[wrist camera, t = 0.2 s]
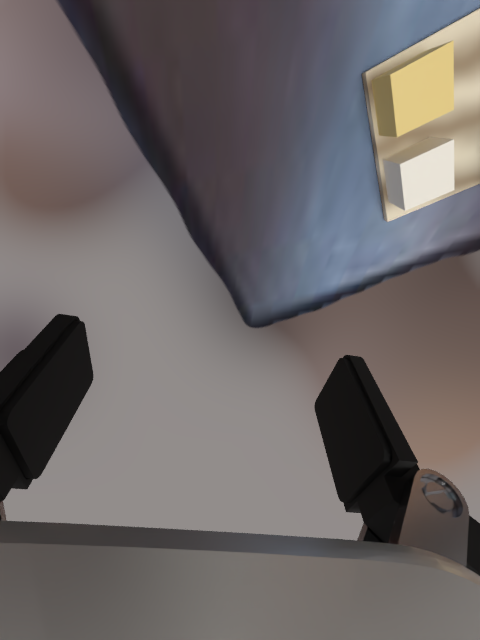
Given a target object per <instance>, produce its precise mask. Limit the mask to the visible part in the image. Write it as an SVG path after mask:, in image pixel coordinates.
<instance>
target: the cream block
mask: <svg viewBox="0 0 480 640" xmlns="http://www.w3.org/2000/svg"><path fill="white" fill-rule="evenodd" d="M382 160H383V167H384V174H385V181H386V189H387V196H388V202H390V203H391V204H393V205H395V206H397V207H399V208H401V209H402V210H404V211H406V210H408V209H411V208H413V207H415V206H418V205H420V204H423V203H425V202H427V201H430V200H432V199H434V198H437V197H439V196H442V195H444V194H446V193H449V192H451V191H453V190H454V139H446V138H435V137H429V138H427V139H425V140H422V141H420V142H418V143H416V144H414V145H412V146H410V147H408V148H406V149H403V150H401V151H399V152H397V153H395V154H393V155H391V156H389V157H387V158H384V159H382Z"/></svg>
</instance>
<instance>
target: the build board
mask: <svg viewBox="0 0 480 640" xmlns="http://www.w3.org/2000/svg"><path fill="white" fill-rule="evenodd" d="M453 40H454V110H452V111H450V112H448V113H446V114H444V115H442V116H440V117H438V118H436V119H434V120H432V121H430V122H428V123H426V124H424V125H422V126H420V127H418V128H415V129H413V130H411V131H409V132H407V133H405V134H403V135H401V136H399V137H389V136H380V135H379V132H378V124H377V117H376V110H375V103H374V96H373V89H372V82H371V80H373V79H375V78H376V77H378V76H380V75H382V74H384V73H385V72H387V71H389V70H391V69H393V68H395V67H396V66H398V65H400V64H402V63H404V62H406V61H407V60H409V59H411V58H413V57H415V56H417V55H418V54H420V53H422V52H424V51H426V50H429V49H431V48H434V47H437V46H439V45H442V44H445V43H448V42H450V41H453ZM362 79H363V85H364V92H365V98H366V105H367V111H368V117H369V124H370V130H371V137H372V143H373V150H374V156H375V163H376V169H377V176H378V182H379V189H380V195H381V202H382V208H383V215H384V220H385V221H387V222H389V221H391V220H394V219H396V218H398V217H401V216H403V215H406V214H408V213H410V212H413V211H415V210H417V209H420V208H422V207H425V206H427V205H429V204H432V203H434V202H437V201H439V200H441V199H444V198H446V197H449V196H451V195H453V194H456V193H458V192H461V191H463V190H465V189H468V188H470V187H472V186H475V185H477V184H480V8H479V9H477V10H475V11H474V12H472V13H470V14H468V15H466V16H465V17H463V18H461V19H459V20H457V21H456V22H454V23H452V24H450V25H448V26H447V27H445V28H443V29H441V30H439V31H438V32H436V33H434V34H432V35H430V36H429V37H427V38H425V39H423V40H422V41H420V42H418V43H416V44H414V45H413V46H411V47H409V48H407V49H405V50H404V51H402V52H400V53H398V54H396V55H395V56H393V57H391V58H389V59H387V60H386V61H384V62H382V63H380V64H378V65H377V66H375V67H373V68H371V69H369V70H368V71H366V72H364V73H362ZM429 137H435V138H446V139H454V190H453V191H451V192H449V193H446V194H444V195H442V196H439V197H437V198H434V199H432V200H430V201H427V202H425V203H423V204H420V205H418V206H415V207H413V208H411V209H408V210H406V211H404V210H402V209H401V208H399V207H397V206H395V205H393V204H391V203H390V202H388V196H387V189H386V181H385V174H384V167H383V160H382V159H384V158H387V157H389V156H391V155H393V154H395V153H397V152H399V151H401V150H403V149H406V148H408V147H410V146H412V145H414V144H416V143H418V142H420V141H422V140H425V139H427V138H429Z"/></svg>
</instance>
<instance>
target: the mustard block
mask: <svg viewBox="0 0 480 640" xmlns="http://www.w3.org/2000/svg"><path fill="white" fill-rule="evenodd" d="M371 82H372V89H373V96H374V103H375V110H376V117H377V124H378V132H379V135H380V136H389V137H399V136H401V135H403V134H405V133H407V132H409V131H411V130H413V129H415V128H418V127H420V126H422V125H424V124H426V123H428V122H430V121H432V120H434V119H436V118H438V117H440V116H442V115H444V114H446V113H448V112H450V111H452V110H454V40H453V41H450V42H448V43H445V44H442V45H439V46H437V47H434V48H431V49H429V50H426V51H424V52H422V53H420V54H418V55H417V56H415V57H413V58H411V59H409V60H407V61H406V62H404V63H402V64H400V65H398V66H396V67H395V68H393V69H391V70H389V71H387V72H385V73H384V74H382V75H380V76H378V77H376V78H375V79H373V80H371Z"/></svg>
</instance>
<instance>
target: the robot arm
mask: <svg viewBox="0 0 480 640" xmlns="http://www.w3.org/2000/svg"><path fill="white" fill-rule="evenodd" d="M92 381H93V370H92V364H91V358H90V353H89V347H88V341H87V336H86V329H85V324H84V322H81V321H80V320H79V318H78V317H76V316H70V315H63V314H58V315H56V316H55V317H54V318H53V319H52V321H51V322H49V324H48V325H47V326H46V327H45V328H44V329H43V330H42V331H41V332H40V333H39V334H38V335H37V336H36V338H35V339H34V340H33V341H32V342H31V343H30V344H29V345H28V346H27V348H25V349H24V350H22V351H20V352H19V353H18V354H17V355H16V356H15V357H14V358H13V359H12V360H11V361H10V362H9V363H8V364H7V365H6V367H5V368H4V369H3V370H2V371H1V372H0V640H480V523H478V522H477V521H476V520H474V519H473V518H472V517H471V516H469V510H468V505H467V503H466V501H465V498H464V497H463V496H462V494H461V492H460V491H459V489H458V488H457V487H456V486H455V485H454V484H453V483H452V482H451V481H450V480H449V479H447V478H446V477H445V476H444V475H442V474H440V473H438V472H436V471H434V470H430V469H421V470H420V469H419V467H418V465H417V463H418V461H417V459H416V457H415V455H414V454H413V452H412V450H411V448H410V446H409V445H408V442H407V440H406V439H405V437H404V435H403V433H402V431H401V429H400V427H399V425H398V423H397V422H396V420H395V418H394V416H393V414H392V412H391V410H390V408H389V406H388V405H387V403H386V401H385V399H384V397H383V395H382V393H381V392H380V389H379V388H378V386H377V384H376V382H375V380H374V378H373V376H372V374H371V373H370V371H369V369H368V367H367V365H366V363H365V361H364V359H363V358H361V357H358V356H350V355H345V356H344V357H343V358H340V359H339V360H338V362H337V364H336V366H335V367H334V369H333V371H332V373H331V374H330V376H329V378H328V380H327V382H326V384H325V385H324V387H323V389H322V391H321V392H320V394H319V396H318V398H317V400H316V402H315V412H316V416H317V419H318V423H319V427H320V431H321V434H322V438H323V442H324V446H325V449H326V453H327V457H328V461H329V464H330V468H331V472H332V475H333V479H334V483H335V487H336V490H337V494H338V497H339V499H340V501H341V502H343V503H344V506H345V510H346V512H354V513H361V515H362V518H363V521H364V523H363V526H362V529H361V531H360V534H359V537H358V540H357V541H354V540H343V539H328V538H313V537H297V536H281V535H264V534H248V533H232V532H214V531H198V530H179V529H163V528H145V527H125V526H108V525H89V524H70V523H47V522H46V523H45V522H17V521H7V520H6V515H5V510H4V504H3V500H4V499H5V498H6V496H7V494H8V493H9V491H10V489H11V488H15V489H28V487H29V485H30V483H31V482H32V480H33V479H37V478H38V477H39V476H40V475H41V474H42V472H43V470H44V469H45V467H46V465H47V463H48V461H49V459H50V458H51V456H52V454H53V452H54V451H55V448H56V447H57V445H58V443H59V441H60V440H61V438H62V436H63V434H64V432H65V431H66V429H67V427H68V425H69V423H70V422H71V420H72V418H73V416H74V414H75V413H76V411H77V409H78V407H79V405H80V404H81V401H82V400H83V398H84V396H85V394H86V393H87V391H88V389H89V387H90V386H91V383H92Z"/></svg>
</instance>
